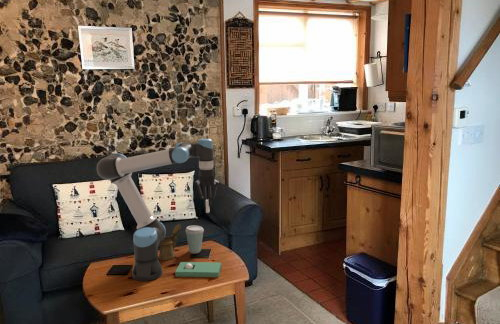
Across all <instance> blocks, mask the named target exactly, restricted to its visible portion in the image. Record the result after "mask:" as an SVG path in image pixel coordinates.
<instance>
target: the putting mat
mask: <svg viewBox="0 0 500 324" xmlns="http://www.w3.org/2000/svg"><path fill="white" fill-rule="evenodd" d="M188 263H190V264H192V266H193V269H185V266H186V264H188ZM221 270H222V262H218V261H217V262H213V261H212V262H210V261H209V262H207V261H206V262H205V261H203V262H202V261H201V262H199V261H196V262H195V261H194V262H193V261H180V262H179V265H178V266H177V267H176V270H175V272H174V274H175V277H186V278H188V277H189V278H193V277H195V278H196V277H197V278H211V277H212V278H219V276H220V274H221Z"/></svg>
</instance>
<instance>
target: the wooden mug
mask: <svg viewBox="0 0 500 324" xmlns="http://www.w3.org/2000/svg"><path fill="white" fill-rule="evenodd" d="M180 230H181V223H178V224H177V225H175V226H174V228H173V230H172V235H170V236H165V237H164V239H163V241H162V242H161V243H160V245H159V253H158V260H162V261H168V260H169V261H170V260H172V259H174V258H175V257H176V252H175V248H176V245H177V242H178V237H177V235H178V234H179V233H180Z"/></svg>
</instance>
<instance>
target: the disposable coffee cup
mask: <svg viewBox="0 0 500 324" xmlns="http://www.w3.org/2000/svg"><path fill="white" fill-rule="evenodd" d="M204 232H205V229H204V228H203V227H202V226H200V225H188V226H186V228H185V234H186V240H187V246H188V250H189V252H190V254H199V253H200V252H201V251H202V244H203V236H204Z"/></svg>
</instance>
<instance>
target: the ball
mask: <svg viewBox="0 0 500 324" xmlns="http://www.w3.org/2000/svg"><path fill="white" fill-rule="evenodd" d="M185 269H193V266H192V264H190V263H188V264H186V266H185Z"/></svg>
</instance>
